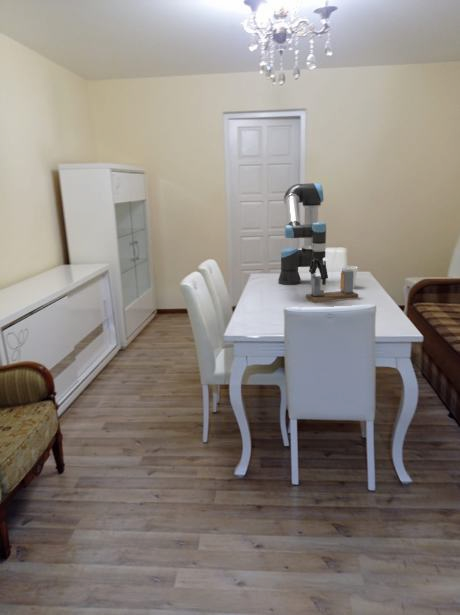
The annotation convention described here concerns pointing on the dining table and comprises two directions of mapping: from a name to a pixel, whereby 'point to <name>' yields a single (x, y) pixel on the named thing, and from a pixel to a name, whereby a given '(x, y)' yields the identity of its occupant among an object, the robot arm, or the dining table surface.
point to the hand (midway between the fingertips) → (317, 287)
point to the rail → (332, 297)
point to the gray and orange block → (317, 287)
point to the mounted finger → (347, 282)
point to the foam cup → (352, 268)
